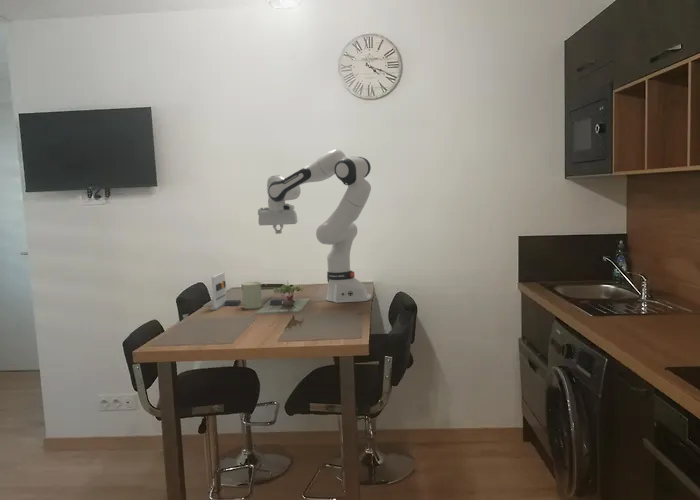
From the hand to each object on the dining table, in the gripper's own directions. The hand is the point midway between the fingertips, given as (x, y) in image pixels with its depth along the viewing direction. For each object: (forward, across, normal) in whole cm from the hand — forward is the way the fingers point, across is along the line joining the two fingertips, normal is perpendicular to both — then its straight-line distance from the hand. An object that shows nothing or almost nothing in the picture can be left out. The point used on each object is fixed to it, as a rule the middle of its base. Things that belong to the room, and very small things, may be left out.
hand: (278, 233), depth 305 cm
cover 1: (+33, -20, -22) cm, 44 cm away
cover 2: (+33, +3, -22) cm, 40 cm away
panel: (+33, -25, -26) cm, 49 cm away
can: (+33, -8, -26) cm, 43 cm away
